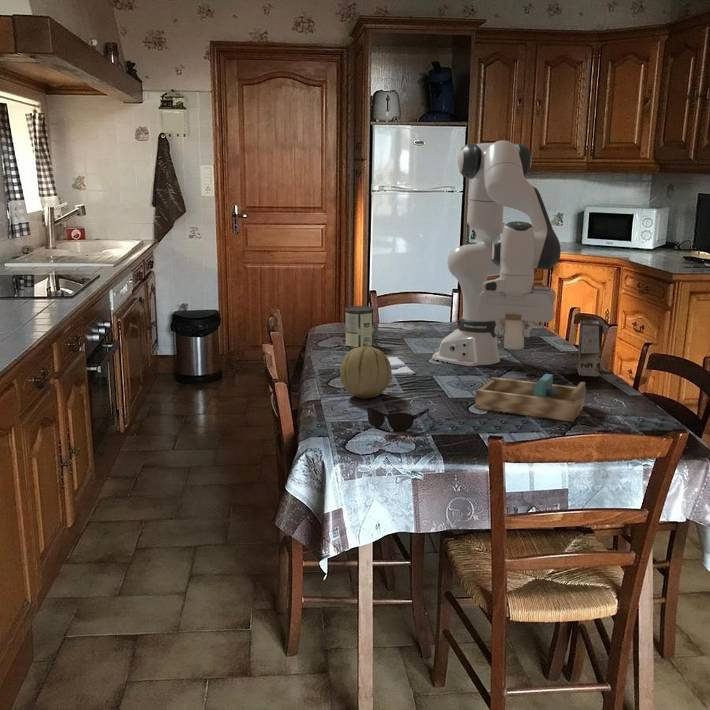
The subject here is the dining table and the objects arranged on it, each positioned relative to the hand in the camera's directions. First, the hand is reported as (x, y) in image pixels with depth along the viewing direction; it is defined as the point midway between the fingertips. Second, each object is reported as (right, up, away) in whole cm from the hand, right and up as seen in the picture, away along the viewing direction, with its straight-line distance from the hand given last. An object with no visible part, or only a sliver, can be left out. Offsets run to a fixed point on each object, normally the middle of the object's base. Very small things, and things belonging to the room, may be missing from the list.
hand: (514, 335), depth 210 cm
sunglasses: (-31, -22, -9) cm, 39 cm away
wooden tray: (+5, -19, +2) cm, 20 cm away
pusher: (+9, -19, 0) cm, 21 cm away
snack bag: (-35, -10, +43) cm, 56 cm away
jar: (0, -3, +1) cm, 3 cm away
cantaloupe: (-40, -17, +12) cm, 45 cm away
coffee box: (+31, -11, +37) cm, 50 cm away
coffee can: (-41, -2, +74) cm, 84 cm away
